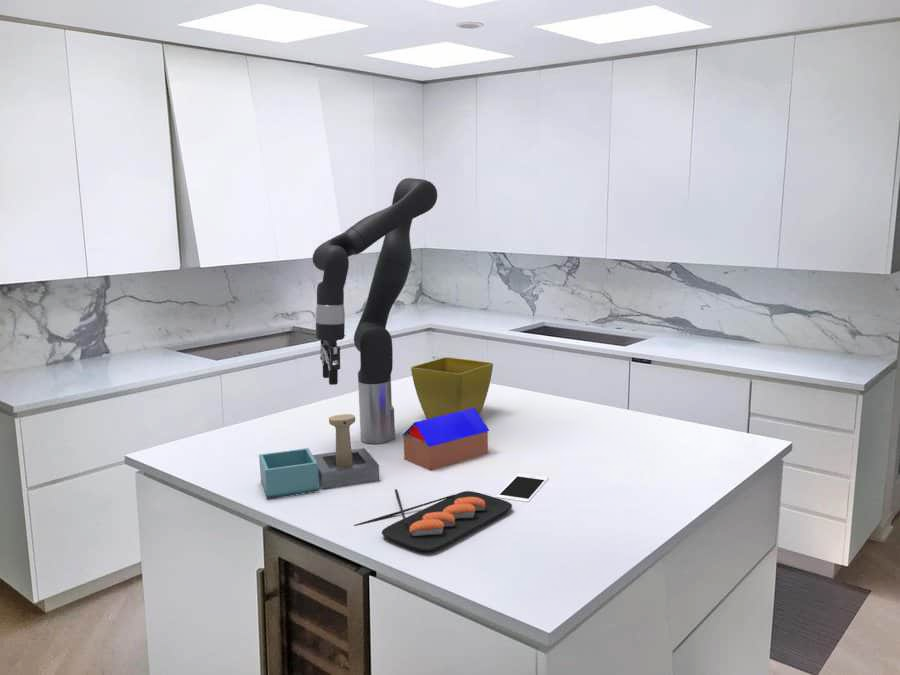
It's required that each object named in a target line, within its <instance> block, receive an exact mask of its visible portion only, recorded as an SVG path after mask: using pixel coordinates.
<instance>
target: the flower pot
mask: <svg viewBox="0 0 900 675" xmlns="http://www.w3.org/2000/svg"><path fill="white" fill-rule="evenodd" d="M493 369H494V363H493V362H490V361H489V362H488V361H482V360H481V361H480V360H473V359H465V358H457V357H449V356H444V357H441V358H438V359H434V360H430V361H427V362H423V363H419V364H416V365H412V366H411V367H410V371H411V377H412V381H413V385H414V388H415V391H416V396H417V398H418V402H419V404H420V406H421V409H422V411H423V415H424V416H425V418H426V419H430V418H434V417H439V416H443V415H447V414H451V413H455V412H460V411H464V410H468V409H472V408H475V409H476V411H477V412H478V414H479V415H480V416H481V414H482V411H483V409H484V405H485V402H486V400H487V396H488V392H489V389H490V385H491V380H492V374H493Z"/></svg>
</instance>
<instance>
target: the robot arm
mask: <svg viewBox="0 0 900 675" xmlns="http://www.w3.org/2000/svg"><path fill="white" fill-rule="evenodd" d="M437 200H438V190H437V188H436V186H435V184H434V183H432V182H431V181H429V180H426V179H422V178H421V179H420V178H412V177H408V178H407V177H406V178H403V179H401V181H399V182H398V184H397V185H396V187H395V189H394V193H393V197H392V200H391V202H392V203H391V205H390V206H388V207H386V208H384V209H381V210H379V211H376V212H374V213H372V214H370V215H367V216H365V217H364V218H362V219H361V220H359V221H357V222H356V223H354V224H353V225H352V226H351V227H349V228H348V229H346V230H345V231H344V232H342V233H340V234H338V235H336V236H333V237H331V238H330V239H328V240H326V241H325V242H323V243H321V244H320V245H319V246H318V247H317V248H316V249H315V250H314V251H313V254H312V263H313V266H314V267H315V268H317V269H318V270H319V271H322V272H323V276H322V281H321V282H319V283H317V286H316V307H315V308H316V309H315V338H316V339H317V340H320V356H319V359H320V361H321V364H322V378H324V379H328V384H329V385H330V386H334V385H335V386H336V385H338V383H339V380H338V379H339V376H338V375H339V372H338V371H339V370H341V347H340V346H339V345H338V344H337V341H341V340H344V339H345V324H346V323H345V320H346V319H345V318H346V317H345V316H346V315H345V314H346V313H345V307H344V306H345V305H344V303H345V294H344V292H345V291H344V288H345V284H346V282H347V276H348V271H349V264H350V263H349V261H350V260H349V257H351V256H355V255H359V254H361V253H363V252H364V251H366V250H367V249H368V248H369V247H371V246H373V244H375V243H377V242H378V241H379V240H380V239H382V238H383V237H384V239H383V242H382V246H381V250H380V252H379V255H378V258H377V261H376V264H375V269H374V273H373V278H372V280H371V283H370V284H371V285H370V288H369V292H368V294H367V301H366V303H365V306H364V309H363V312H362V313H361V314H362V315H361V316H360V319H359V321H358V323H357V325H356V326H357V327H356V329H355V332H354V335H353V342H354V343H353V344H354V346H355V348H356V350H357V351H358V352H359V353H360V355H359V357H360V358H359V359H360V360H359V361H360V366H359V370H358V371H357V382H358V386H357V388H358V404H359V405H358V406H359V428H360V431H359V432H360V441H361V442H363V443H365V444H384V443H387V442H390V441H394V440H396V429H395V428H396V426H395V407H394V406H393V404H392V403H393V402H392V401H393V400H392V379H391V378H392V371H393V363H394V360H393V359H394V358H393V357H394V356H393V355H394V354H393V353H394V352H393V340H392V336H391V333H390V331H389V330H387V329H386V328H387V324H388V319H389V315H390V311H391V310H392V307H393V305H394V303H395V302H396V300H397V299H398V297H399V296H400V295H401V292H402V290H403V288H404V287H405V284H406V282H407V279H408V275H409V274H410V273H409V272H410V268H411V266H412V261H413V260H412V257H413V256H412V254H413V253H412V246H411V236H410V234H411V233H410V232H411V227H412V226H411V225H412V223H413V219H415V218H418V217H419V216H422V215H424V214H425V213H427V212H429V211H431V210H432V209H433V208H434V206H435V205H436V203H437Z"/></svg>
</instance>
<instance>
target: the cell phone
mask: <svg viewBox="0 0 900 675" xmlns="http://www.w3.org/2000/svg"><path fill="white" fill-rule="evenodd" d="M549 479H550V478H549V477H548V476H541V475H533V474H527V473H526V474H524V473H518V474H516V475H515V476H514V478H513V479H512V480H511V481H509V482H508V483H507V485H505V487H504V488H503V489H502V490H501V491H500V492H498V494H497V495H495V498H498V499H501V500H508V501H514V502H515V501H517V502H523V503H529V502H530V501H531V500H532V499H533V497H535V495H536V494H537V493H538V492H539V490H540V489H541V488H542V487H543V486H544V485H545V483H547V482H548V480H549Z"/></svg>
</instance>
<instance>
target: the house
mask: <svg viewBox="0 0 900 675" xmlns="http://www.w3.org/2000/svg"><path fill="white" fill-rule="evenodd" d="M489 431H490V429H489V428H488V426H487V425H486V423H485V422H484V420H483V419H482V416H481V414H480V415H479V414H478V412H477V411H476V409H475V408H472V409H468V410H464V411H460V412H455V413H451V414H447V415H443V416H439V417H434V418H430V419H428V418H426V419H423V420H418V421H414V422H413V423H412V424H411V425H410V426H409V428H408V429H406V431H405V432H404V433H403V434H402V435H401V436H402V437H403V455H404V456H403V459H404V460H405V461H407V462H409V463H412V464H414V465H416V466H418V467H421V468H423V469H425V470H427V471H429V472H430V471H433V470H437V469H441V468H444V467H447V466H451V465H453V464H457V463H462V462H465V461H468V460H471V459H475V458H478V457H482V456H486V455H488V454H489V436H488V435H489V433H488V432H489Z"/></svg>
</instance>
